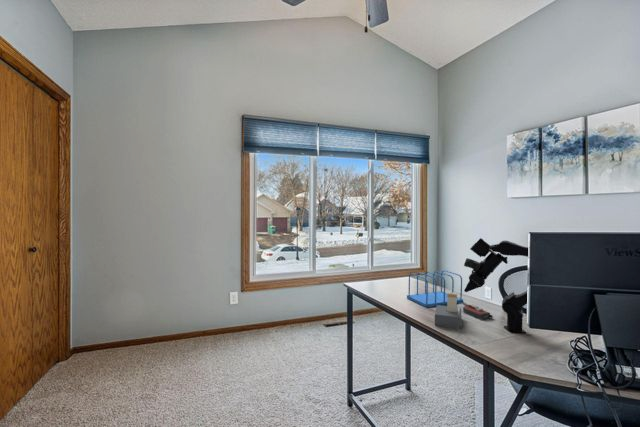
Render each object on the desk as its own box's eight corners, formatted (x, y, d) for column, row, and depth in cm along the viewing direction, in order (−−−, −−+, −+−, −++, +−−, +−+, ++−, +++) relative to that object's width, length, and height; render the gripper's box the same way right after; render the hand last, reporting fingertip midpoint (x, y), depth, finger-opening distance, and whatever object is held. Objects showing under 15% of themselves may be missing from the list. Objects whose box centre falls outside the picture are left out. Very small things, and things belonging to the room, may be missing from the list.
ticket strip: (456, 321, 149) (456, 293, 149) (456, 322, 148) (456, 293, 147) (447, 320, 151) (447, 292, 150) (447, 321, 150) (447, 292, 149)
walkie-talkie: (496, 319, 154) (465, 306, 173) (496, 310, 154) (465, 298, 173) (481, 321, 151) (451, 308, 170) (481, 312, 151) (451, 299, 170)
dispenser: (461, 318, 154) (461, 306, 154) (461, 328, 141) (461, 315, 141) (436, 315, 159) (436, 303, 158) (434, 325, 146) (434, 312, 145)
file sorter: (426, 308, 170) (426, 279, 169) (406, 298, 186) (406, 272, 186) (463, 302, 179) (463, 275, 178) (441, 294, 195) (441, 268, 194)
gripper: (475, 249, 155) (454, 273, 160) (471, 255, 138) (448, 281, 144) (496, 265, 150) (473, 289, 155) (495, 272, 134) (469, 299, 139)
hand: (466, 289), depth 149 cm, fingers open, 9 cm apart
